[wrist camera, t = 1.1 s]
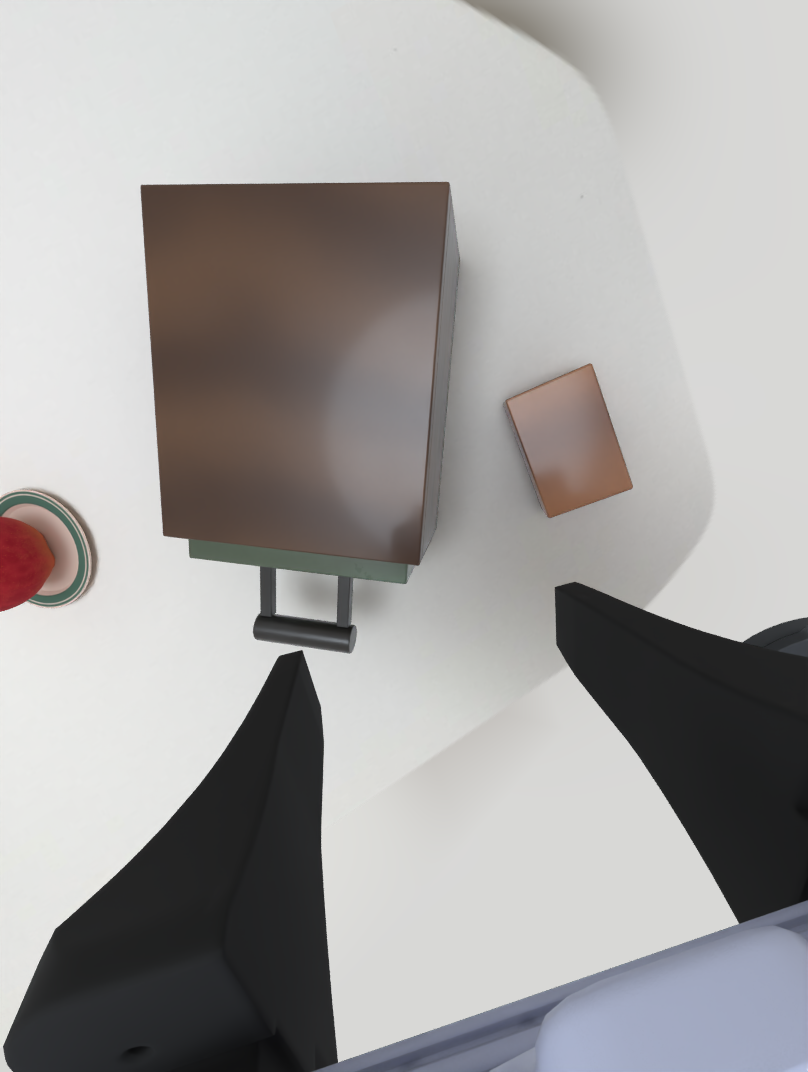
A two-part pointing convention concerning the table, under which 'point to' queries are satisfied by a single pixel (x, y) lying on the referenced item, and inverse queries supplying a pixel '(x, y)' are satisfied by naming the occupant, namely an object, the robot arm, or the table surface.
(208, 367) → the cabinet
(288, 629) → the drawer
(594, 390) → the brown rectangular block
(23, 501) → the red apple on plate
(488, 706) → the table surface
